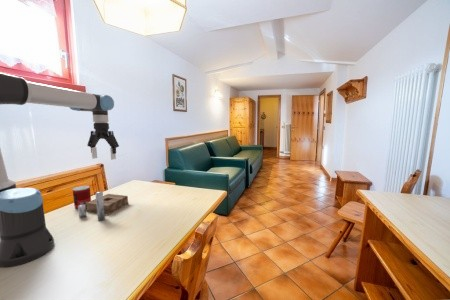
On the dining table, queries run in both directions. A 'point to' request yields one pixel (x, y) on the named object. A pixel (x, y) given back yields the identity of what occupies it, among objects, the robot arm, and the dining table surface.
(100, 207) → the long pin
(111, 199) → the hole block
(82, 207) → the short pin
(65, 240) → the dining table surface
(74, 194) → the canned food
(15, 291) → the dining table surface
